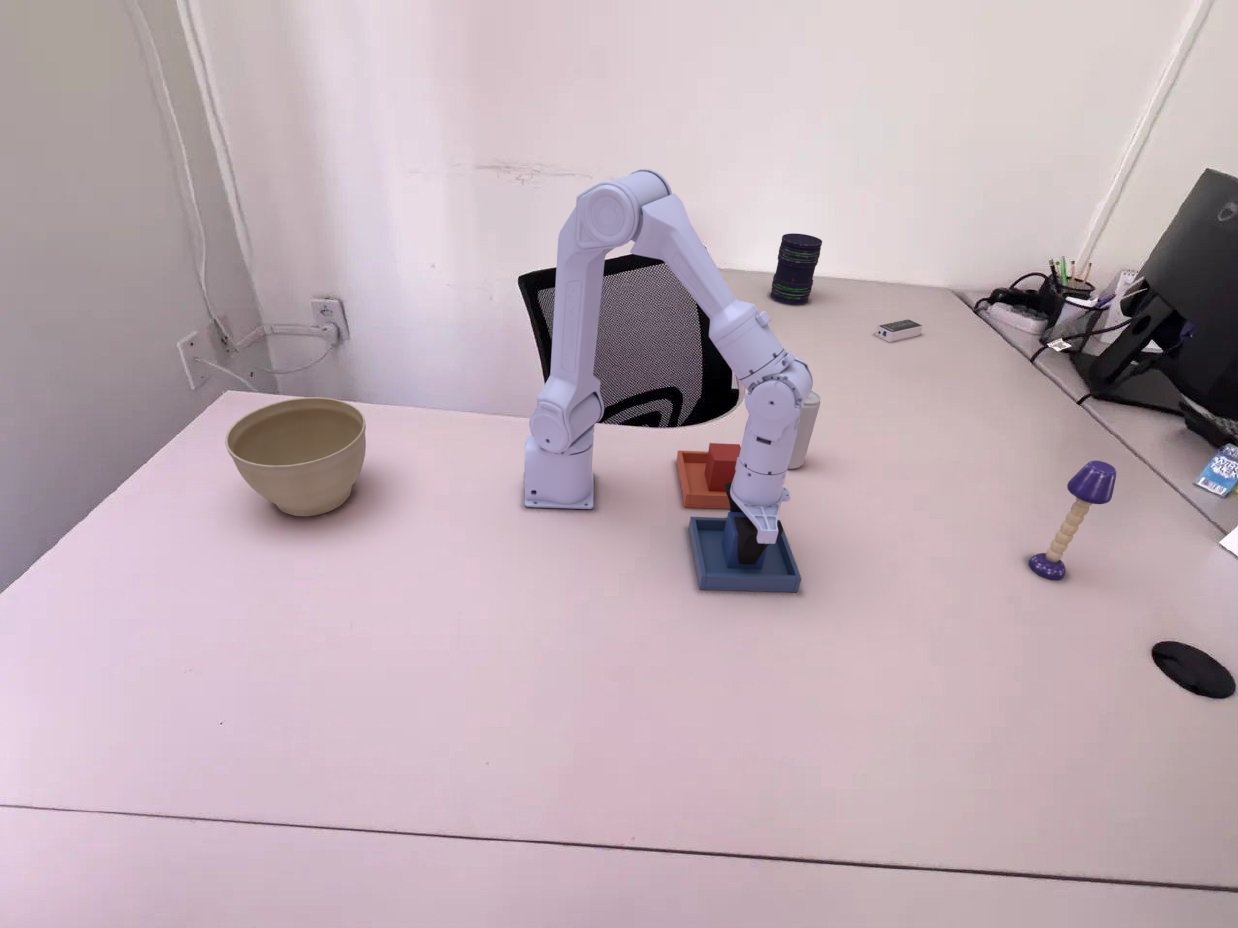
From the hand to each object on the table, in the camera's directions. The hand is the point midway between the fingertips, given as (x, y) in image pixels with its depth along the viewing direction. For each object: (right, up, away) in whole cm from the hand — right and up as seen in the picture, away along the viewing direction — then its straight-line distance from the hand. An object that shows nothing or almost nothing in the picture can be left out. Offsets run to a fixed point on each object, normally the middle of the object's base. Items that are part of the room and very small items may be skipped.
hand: (742, 548), depth 83 cm
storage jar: (+28, +53, +84) cm, 103 cm away
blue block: (0, -1, +1) cm, 1 cm away
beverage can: (+11, +11, +21) cm, 26 cm away
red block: (-1, +8, +14) cm, 16 cm away
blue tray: (0, -1, +1) cm, 2 cm away
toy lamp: (+41, -3, +4) cm, 41 cm away
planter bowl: (-57, +6, +6) cm, 58 cm away
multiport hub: (+49, +41, +68) cm, 93 cm away
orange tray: (-1, +8, +14) cm, 16 cm away
